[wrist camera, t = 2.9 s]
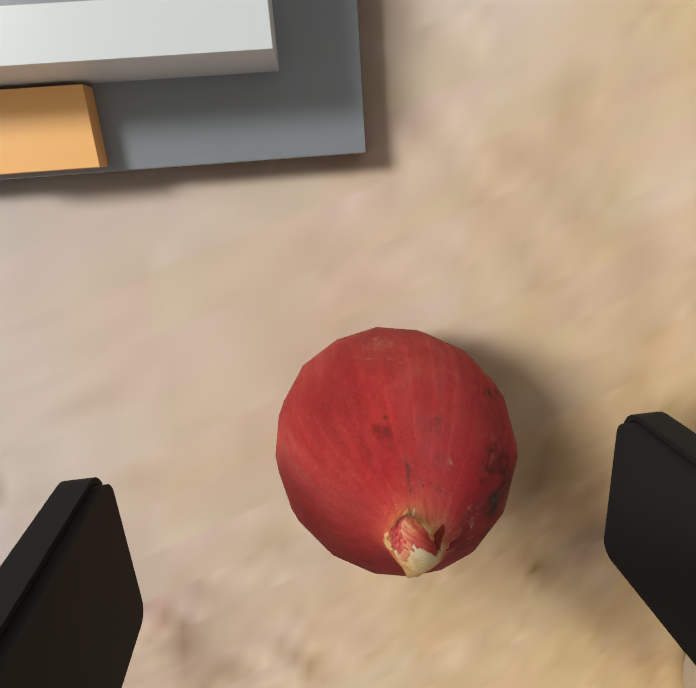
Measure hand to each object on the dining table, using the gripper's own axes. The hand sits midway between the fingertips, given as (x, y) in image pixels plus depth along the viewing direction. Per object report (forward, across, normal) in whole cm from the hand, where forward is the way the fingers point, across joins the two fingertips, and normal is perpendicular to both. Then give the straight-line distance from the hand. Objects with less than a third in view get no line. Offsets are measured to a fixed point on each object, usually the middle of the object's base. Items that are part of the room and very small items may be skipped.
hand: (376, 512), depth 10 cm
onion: (+7, -1, +1) cm, 7 cm away
